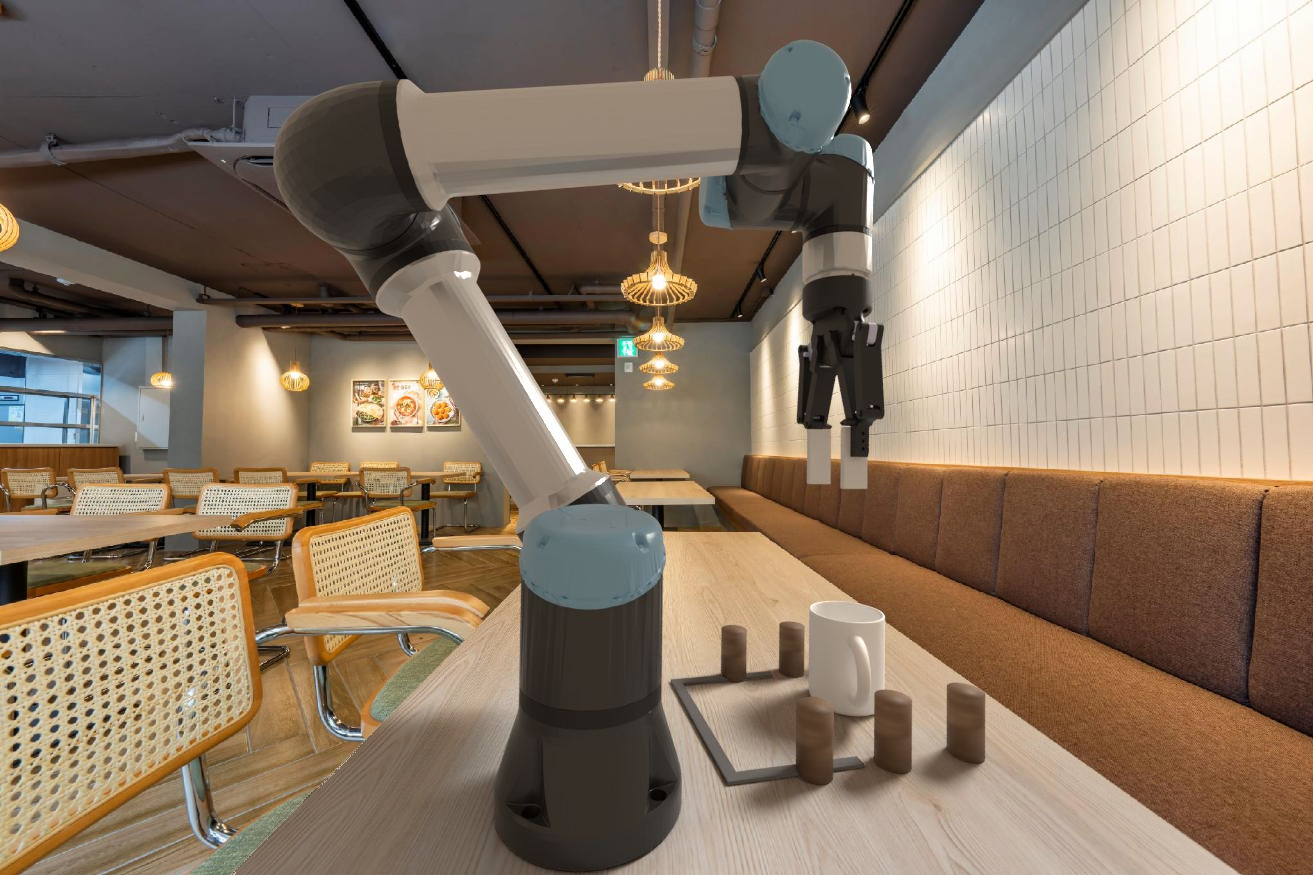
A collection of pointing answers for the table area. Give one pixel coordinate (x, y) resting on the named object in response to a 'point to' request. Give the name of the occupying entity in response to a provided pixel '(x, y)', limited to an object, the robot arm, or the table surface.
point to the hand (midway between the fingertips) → (835, 485)
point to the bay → (716, 749)
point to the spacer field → (888, 712)
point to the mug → (846, 655)
